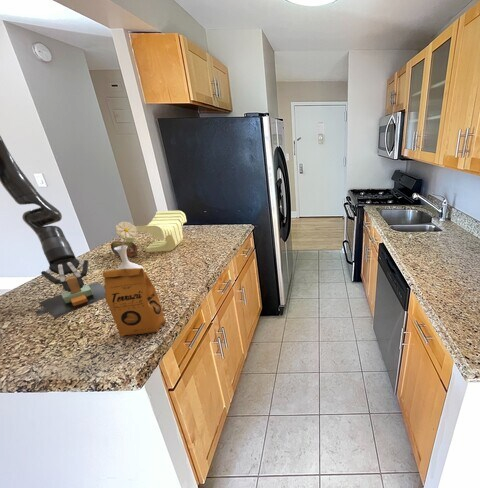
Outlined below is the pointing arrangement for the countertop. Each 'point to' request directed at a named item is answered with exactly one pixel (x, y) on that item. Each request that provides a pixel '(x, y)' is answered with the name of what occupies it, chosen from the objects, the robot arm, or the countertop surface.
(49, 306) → the griddle pan
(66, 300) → the scrub brush
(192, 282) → the countertop surface
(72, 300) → the orange flat rounded piece
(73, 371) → the countertop surface
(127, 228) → the flower in vase
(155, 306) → the coffee package
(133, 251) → the multicolored arch
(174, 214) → the slatted curved stool
